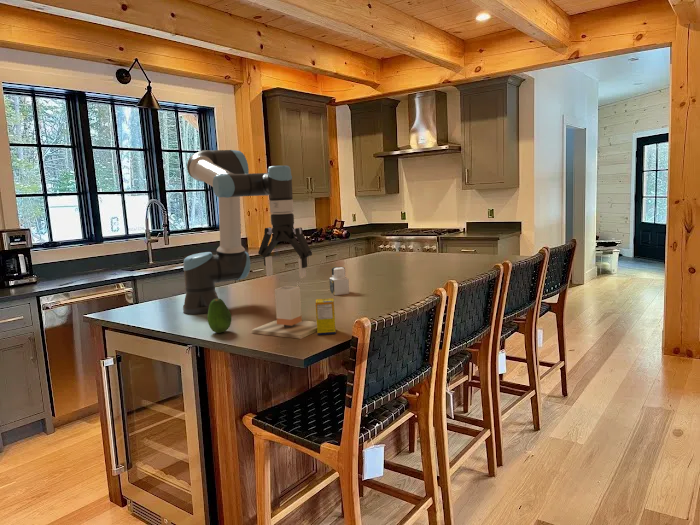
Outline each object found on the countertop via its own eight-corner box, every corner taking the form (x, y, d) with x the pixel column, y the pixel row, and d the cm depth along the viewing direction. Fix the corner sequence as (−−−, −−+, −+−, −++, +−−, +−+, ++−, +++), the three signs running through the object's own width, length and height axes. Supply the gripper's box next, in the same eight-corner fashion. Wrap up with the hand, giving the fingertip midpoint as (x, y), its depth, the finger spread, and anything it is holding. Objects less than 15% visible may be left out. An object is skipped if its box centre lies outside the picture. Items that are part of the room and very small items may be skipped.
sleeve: (276, 318, 177) (274, 289, 175) (287, 314, 182) (285, 285, 180) (291, 319, 174) (289, 290, 172) (301, 315, 179) (299, 286, 178)
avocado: (203, 334, 178) (200, 299, 176) (221, 328, 184) (218, 295, 183) (220, 337, 174) (217, 301, 172) (237, 331, 180) (234, 296, 178)
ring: (277, 324, 177) (276, 318, 177) (287, 319, 182) (287, 314, 182) (291, 325, 174) (291, 319, 174) (301, 321, 179) (301, 315, 179)
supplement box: (335, 329, 175) (333, 297, 174) (335, 334, 170) (333, 301, 168) (317, 330, 175) (315, 298, 174) (317, 335, 169) (315, 302, 168)
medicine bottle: (330, 292, 240) (328, 266, 238) (344, 291, 242) (343, 265, 240) (334, 295, 233) (332, 268, 231) (349, 293, 235) (348, 267, 234)
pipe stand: (251, 333, 176) (249, 298, 175) (280, 321, 190) (277, 289, 188) (301, 338, 167) (298, 301, 165) (327, 326, 180) (325, 291, 179)
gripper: (245, 214, 176) (249, 276, 179) (307, 213, 164) (311, 280, 167) (259, 212, 182) (263, 272, 185) (320, 212, 170) (323, 276, 173)
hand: (285, 276), depth 176 cm, fingers open, 13 cm apart
